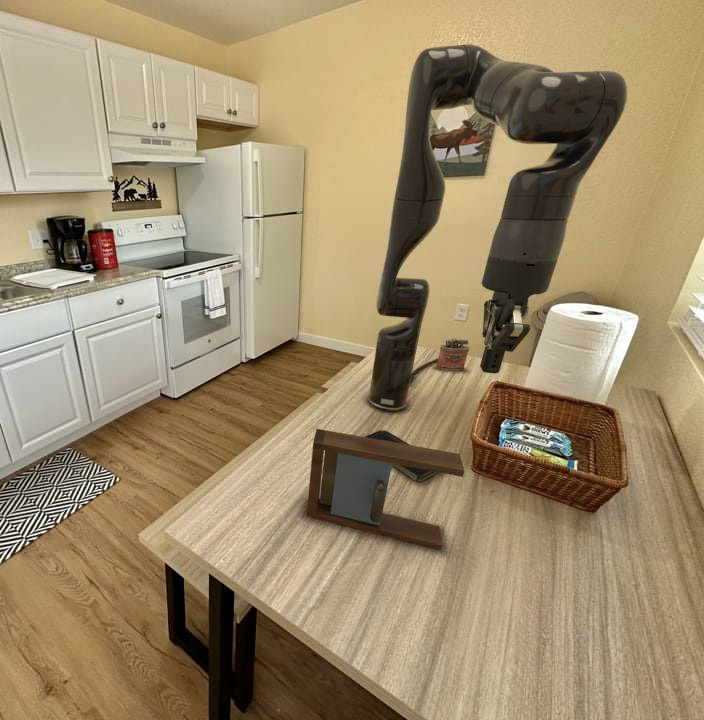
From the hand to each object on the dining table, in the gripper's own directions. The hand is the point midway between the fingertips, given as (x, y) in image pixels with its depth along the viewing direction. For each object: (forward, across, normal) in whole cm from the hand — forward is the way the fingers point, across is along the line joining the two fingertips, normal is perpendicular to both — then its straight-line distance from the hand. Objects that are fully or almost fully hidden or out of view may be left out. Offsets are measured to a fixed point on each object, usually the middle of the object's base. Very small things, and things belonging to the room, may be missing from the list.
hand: (488, 371), depth 58 cm
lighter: (+27, -63, +9) cm, 69 cm away
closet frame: (+27, +9, -13) cm, 31 cm away
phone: (+27, -12, -8) cm, 31 cm away
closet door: (+26, +11, -16) cm, 32 cm away
